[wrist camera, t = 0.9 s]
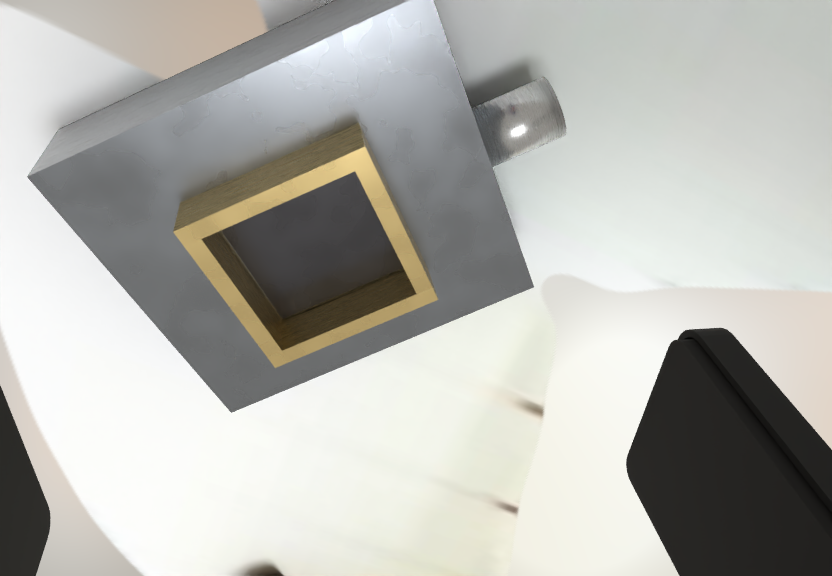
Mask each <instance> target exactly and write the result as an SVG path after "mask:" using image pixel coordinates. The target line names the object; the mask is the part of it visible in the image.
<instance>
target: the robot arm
mask: <svg viewBox="0 0 832 576" xmlns="http://www.w3.org/2000/svg"><path fill="white" fill-rule="evenodd" d="M626 466H627V473H628V477H629V479H630V481H631V483H632V485H633V487H634V489H635V491H636V493H637V495H638V497H639V499H640V501H641V503H642V504H643V506H644V508H645V510H646V512H647V514H648V516H649V518H650V520H651V522H652V523H653V526H654V528H655V529H656V531H657V533H658V535H659V537H660V539H661V541H662V543H663V545H664V547H665V549H666V551H667V553H668V555H669V556H670V558H671V560H672V562H673V564H674V566H675V568H676V570H677V572H678V574H679V575H680V576H832V450H831V448H830V447H829V446H828V445H827V444H826V443H825V441H824V440H823V439H822V438H821V437H820V436H819V435H818V433H817V432H816V431H815V430H814V429H813V427H812V426H811V425H810V424H809V423H808V422H807V421H806V419H805V418H804V417H803V416H802V415H801V414H800V412H799V411H798V410H797V409H796V408H795V407H794V405H793V404H792V403H791V402H790V401H789V400H788V398H787V397H786V396H785V395H784V394H783V393H782V391H781V390H780V389H779V388H778V387H777V386H776V384H775V383H774V382H773V381H772V380H771V379H770V377H769V376H768V375H767V374H766V373H765V372H764V370H763V369H762V368H761V367H760V366H759V365H758V363H757V362H756V361H755V360H754V359H753V358H752V356H751V355H750V354H749V353H748V352H747V351H746V349H745V348H744V347H743V346H742V345H741V344H740V342H739V341H738V340H737V339H736V338H735V337H734V335H733V334H732V333H730V332H729V331H728V330H726V329H724V328H710V329H693V330H685V331H684V332H683V333H682V334H681V335H680V336H679V338H678V340H674V341H673V342H672V343H671V344H670V346H669V348H668V351H667V353H666V356H665V358H664V361H663V364H662V367H661V369H660V372H659V374H658V377H657V379H656V382H655V385H654V387H653V390H652V392H651V395H650V398H649V400H648V403H647V406H646V408H645V411H644V414H643V416H642V419H641V422H640V424H639V427H638V429H637V432H636V435H635V437H634V440H633V442H632V445H631V448H630V450H629V453H628V456H627V462H626ZM49 530H50V510H49V507H48V504H47V501H46V499H45V496H44V494H43V491H42V489H41V486H40V484H39V481H38V479H37V476H36V474H35V471H34V469H33V466H32V464H31V461H30V459H29V456H28V454H27V451H26V449H25V446H24V444H23V441H22V439H21V436H20V434H19V431H18V429H17V426H16V424H15V421H14V419H13V416H12V414H11V411H10V409H9V406H8V403H7V401H6V399H5V396H4V394H3V391H2V388H1V386H0V576H36V573H37V570H38V567H39V563H40V560H41V557H42V554H43V551H44V548H45V545H46V542H47V538H48V535H49Z"/></svg>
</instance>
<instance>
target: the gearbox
mask: <svg viewBox="0 0 832 576" xmlns="http://www.w3.org/2000/svg"><path fill="white" fill-rule="evenodd" d="M565 135H566V125H565V120H564V116H563V113H562V110H561V107H560V104H559V101H558V99H557V97H556V94H555V92H554V90H553V88H552V87H551V85H550V83H549V82H548V80H547V79H546V78H545V77H541V78H539V79H536V80H534V81H532V82H530V83H527V84H525V85H523V86H521V87H518V88H516V89H514V90H512V91H509V92H507V93H505V94H503V95H500V96H498V97H496V98H494V99H491V100H489V101H487V102H485V103H482V104H480V105H478V106H476V107H473V108H471V106H470V103H469V100H468V97H467V94H466V92H465V89H464V86H463V83H462V80H461V77H460V74H459V72H458V69H457V66H456V63H455V60H454V57H453V54H452V52H451V49H450V46H449V43H448V40H447V37H446V35H445V32H444V29H443V26H442V23H441V20H440V17H439V15H438V12H437V9H436V6H435V3H434V0H335V1H333V2H331V3H329V4H326V5H324V6H322V7H320V8H318V9H316V10H314V11H311V12H309V13H307V14H305V15H303V16H301V17H299V18H296V19H294V20H292V21H290V22H288V23H286V24H284V25H281V26H279V27H277V28H275V29H273V30H271V31H269V32H266V33H264V34H263V35H260V36H258V37H256V38H254V39H251V40H249V41H247V42H245V43H243V44H241V45H239V46H237V47H234V48H232V49H230V50H228V51H226V52H224V53H221V54H219V55H217V56H215V57H213V58H211V59H209V60H206V61H204V62H202V63H200V64H198V65H196V66H194V67H192V68H190V69H187V70H185V71H183V72H181V73H179V74H177V75H174V76H172V77H170V78H168V79H166V80H164V81H162V82H159V83H157V84H155V85H153V86H151V87H149V88H147V89H144V90H142V91H140V92H138V93H136V94H134V95H132V96H129V97H127V98H125V99H123V100H121V101H119V102H117V103H114V104H112V105H110V106H108V107H106V108H104V109H102V110H99V111H97V112H95V113H93V114H91V115H89V116H87V117H84V118H82V119H80V120H78V121H76V122H74V123H72V124H69V125H67V126H65V127H63V128H61V129H59V130H58V131H57V133H56V134H55V136H54V137H53V139H52V140H51V142H50V143H49V145H48V146H47V148H46V149H45V151H44V152H43V154H42V155H41V157H40V158H39V160H38V161H37V163H36V164H35V166H34V167H33V169H32V170H31V172H30V173H29V175H28V176H27V177H28V178H29V179H30V181H31V182H32V183H33V184H34V185H35V186H36V188H37V189H38V190H39V191H40V192H41V193H42V194H43V196H44V197H45V198H46V199H47V200H48V201H49V203H50V204H51V205H52V206H53V207H54V208H55V210H56V211H57V212H58V213H59V214H60V215H61V216H62V218H63V219H64V220H65V221H66V222H67V223H68V225H69V226H70V227H71V228H72V229H73V230H74V231H75V233H76V234H77V235H78V236H79V237H80V238H81V240H82V241H83V242H84V243H85V244H86V245H87V246H88V248H89V249H90V250H91V251H92V252H93V253H94V255H95V256H96V257H97V258H98V259H99V260H100V262H101V263H102V264H103V265H104V266H105V267H106V268H107V270H108V271H109V272H110V273H111V274H112V275H113V277H114V278H115V279H116V280H117V281H118V282H119V283H120V285H121V286H122V287H123V288H124V289H125V290H126V292H127V293H128V294H129V295H130V296H131V297H132V299H133V300H134V301H135V302H136V303H137V304H138V305H139V307H140V308H141V309H142V310H143V311H144V312H145V314H146V315H147V316H148V317H149V318H150V319H151V320H152V322H153V323H154V324H155V325H156V326H157V327H158V329H159V330H160V331H161V332H162V333H163V334H164V335H165V337H166V338H167V339H168V340H169V341H170V342H171V344H172V345H173V346H174V347H175V348H176V349H177V351H178V352H179V353H180V354H181V355H182V356H183V357H184V359H185V360H186V361H187V362H188V363H189V364H190V366H191V367H192V368H193V369H194V370H195V371H196V372H197V374H198V375H199V376H200V377H201V378H202V379H203V381H204V382H205V383H206V384H207V385H208V386H209V387H210V389H211V390H212V391H213V392H214V393H215V394H216V396H217V397H218V398H219V399H220V400H221V401H222V403H223V404H224V405H225V406H226V407H227V408H228V409H229V411H230V412H231V413H232V412H234V411H236V410H239V409H241V408H244V407H246V406H248V405H251V404H253V403H256V402H258V401H260V400H263V399H265V398H268V397H270V396H273V395H275V394H277V393H280V392H282V391H285V390H287V389H289V388H292V387H294V386H297V385H299V384H301V383H304V382H306V381H309V380H311V379H313V378H316V377H318V376H321V375H323V374H326V373H328V372H330V371H333V370H335V369H338V368H340V367H342V366H345V365H347V364H350V363H352V362H354V361H357V360H359V359H362V358H364V357H366V356H369V355H371V354H374V353H376V352H379V351H381V350H383V349H386V348H388V347H391V346H393V345H395V344H398V343H400V342H403V341H405V340H407V339H410V338H412V337H415V336H417V335H420V334H422V333H424V332H427V331H429V330H432V329H434V328H436V327H439V326H441V325H444V324H446V323H448V322H451V321H453V320H456V319H458V318H460V317H463V316H465V315H468V314H470V313H473V312H475V311H477V310H480V309H482V308H485V307H487V306H489V305H492V304H494V303H497V302H499V301H501V300H504V299H506V298H509V297H511V296H513V295H516V294H518V293H521V292H523V291H526V290H528V289H530V288H533V287H534V286H533V283H532V280H531V277H530V274H529V271H528V268H527V266H526V263H525V260H524V257H523V254H522V251H521V249H520V246H519V243H518V240H517V237H516V234H515V231H514V229H513V226H512V223H511V220H510V217H509V214H508V211H507V209H506V206H505V203H504V200H503V197H502V194H501V191H500V189H499V186H498V183H497V180H496V177H495V174H494V171H493V169H492V167H494V166H496V165H498V164H501V163H503V162H505V161H507V160H510V159H512V158H514V157H517V156H519V155H521V154H524V153H526V152H528V151H531V150H533V149H535V148H537V147H540V146H542V145H544V144H547V143H549V142H551V141H554V140H556V139H558V138H560V137H563V136H565Z"/></svg>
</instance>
